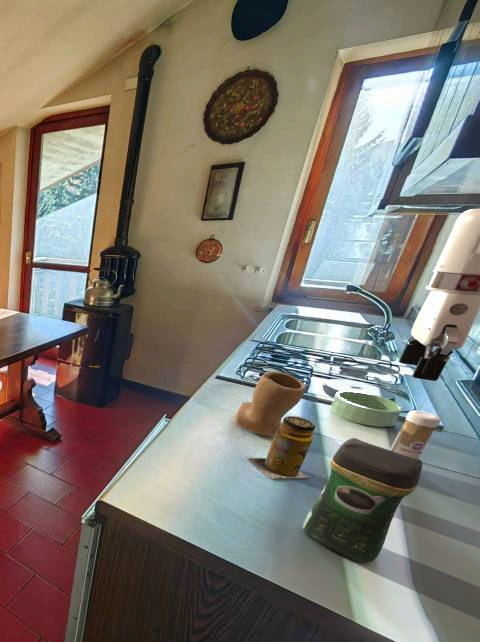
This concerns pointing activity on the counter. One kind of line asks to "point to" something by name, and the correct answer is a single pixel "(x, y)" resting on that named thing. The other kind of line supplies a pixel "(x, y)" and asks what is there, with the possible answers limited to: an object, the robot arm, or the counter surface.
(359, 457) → the coffee jar
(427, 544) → the counter surface
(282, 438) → the condiment
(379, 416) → the bowl
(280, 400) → the brown boot planter
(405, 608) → the counter surface
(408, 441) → the sprinkles bottle
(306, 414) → the counter surface
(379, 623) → the counter surface
